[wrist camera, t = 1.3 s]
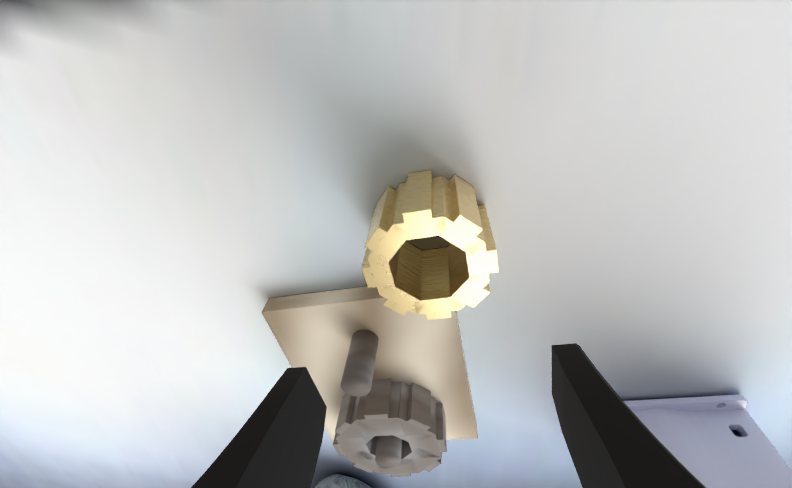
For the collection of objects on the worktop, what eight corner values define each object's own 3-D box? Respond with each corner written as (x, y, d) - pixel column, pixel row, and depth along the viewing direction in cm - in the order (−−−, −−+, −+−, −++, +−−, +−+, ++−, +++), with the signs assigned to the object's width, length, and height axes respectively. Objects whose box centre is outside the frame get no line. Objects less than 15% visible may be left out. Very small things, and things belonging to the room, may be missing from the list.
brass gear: (479, 160, 17) (491, 199, 13) (490, 260, 20) (502, 312, 16) (362, 181, 18) (346, 222, 14) (388, 273, 21) (380, 324, 17)
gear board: (449, 275, 20) (453, 336, 17) (476, 422, 28) (483, 488, 24) (269, 298, 22) (236, 357, 19) (337, 429, 30) (323, 491, 26)
